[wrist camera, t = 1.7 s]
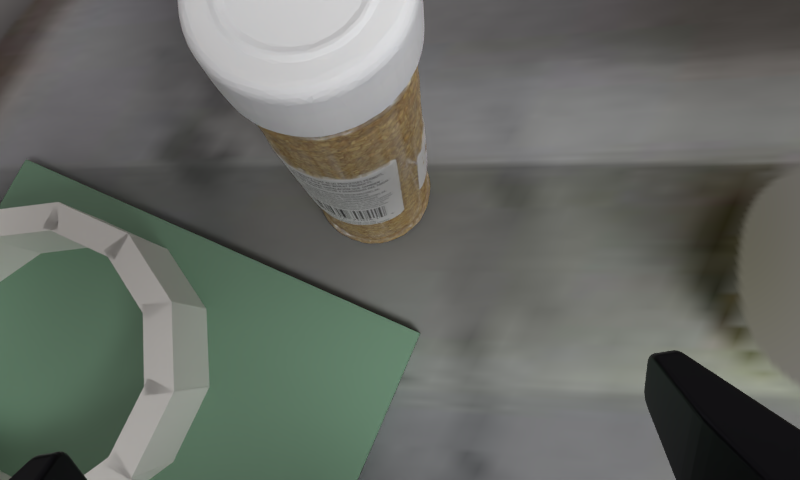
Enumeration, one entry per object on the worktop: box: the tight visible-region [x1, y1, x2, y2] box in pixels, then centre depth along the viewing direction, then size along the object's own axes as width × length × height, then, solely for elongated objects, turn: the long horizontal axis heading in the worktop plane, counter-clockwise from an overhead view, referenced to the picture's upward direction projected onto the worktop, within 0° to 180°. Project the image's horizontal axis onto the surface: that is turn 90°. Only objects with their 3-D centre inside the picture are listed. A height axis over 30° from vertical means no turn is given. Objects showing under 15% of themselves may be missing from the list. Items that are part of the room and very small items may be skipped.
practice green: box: [0, 160, 420, 480], centre depth 20 cm, size 18×13×4 cm
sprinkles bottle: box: [178, 0, 430, 243], centre depth 17 cm, size 5×5×13 cm
